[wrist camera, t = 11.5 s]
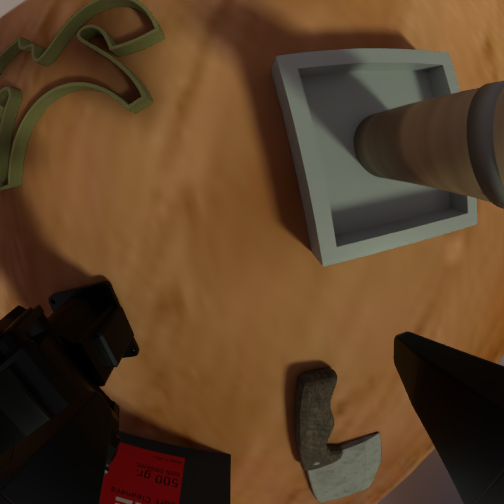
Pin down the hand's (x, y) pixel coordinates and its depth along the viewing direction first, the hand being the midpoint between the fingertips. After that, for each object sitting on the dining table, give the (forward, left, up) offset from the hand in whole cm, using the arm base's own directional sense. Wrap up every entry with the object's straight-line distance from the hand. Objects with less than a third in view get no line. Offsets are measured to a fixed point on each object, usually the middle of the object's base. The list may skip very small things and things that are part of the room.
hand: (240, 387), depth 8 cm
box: (+11, +5, -13) cm, 18 cm away
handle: (+11, +5, -12) cm, 17 cm away
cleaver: (+5, -26, -14) cm, 30 cm away
